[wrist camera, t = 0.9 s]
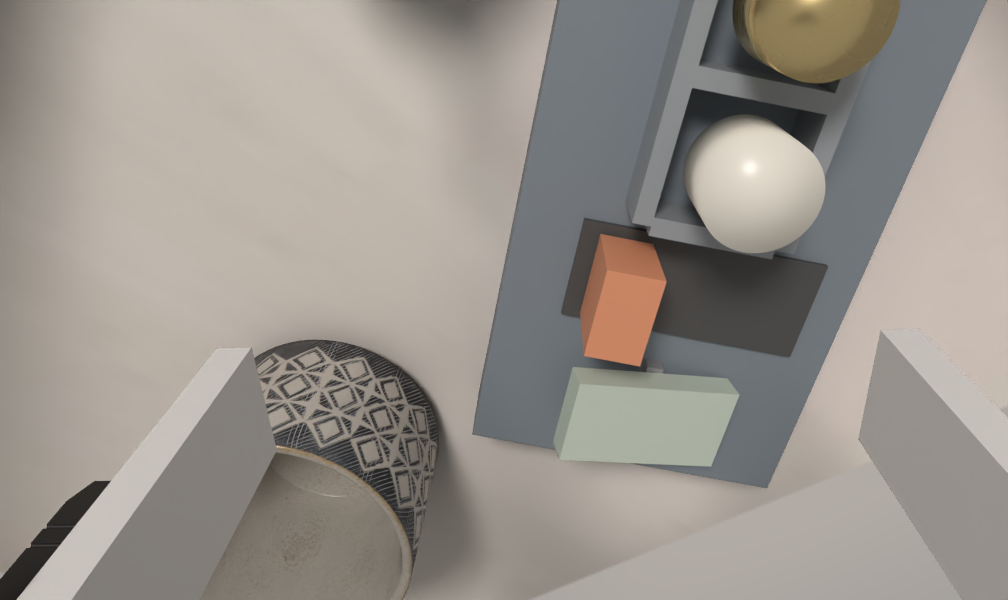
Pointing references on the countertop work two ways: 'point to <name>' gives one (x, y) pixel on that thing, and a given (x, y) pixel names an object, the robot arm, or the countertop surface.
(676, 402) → the block
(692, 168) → the button ivory
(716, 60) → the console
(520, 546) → the countertop surface
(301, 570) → the planter
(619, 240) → the slider knob
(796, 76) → the button brass
